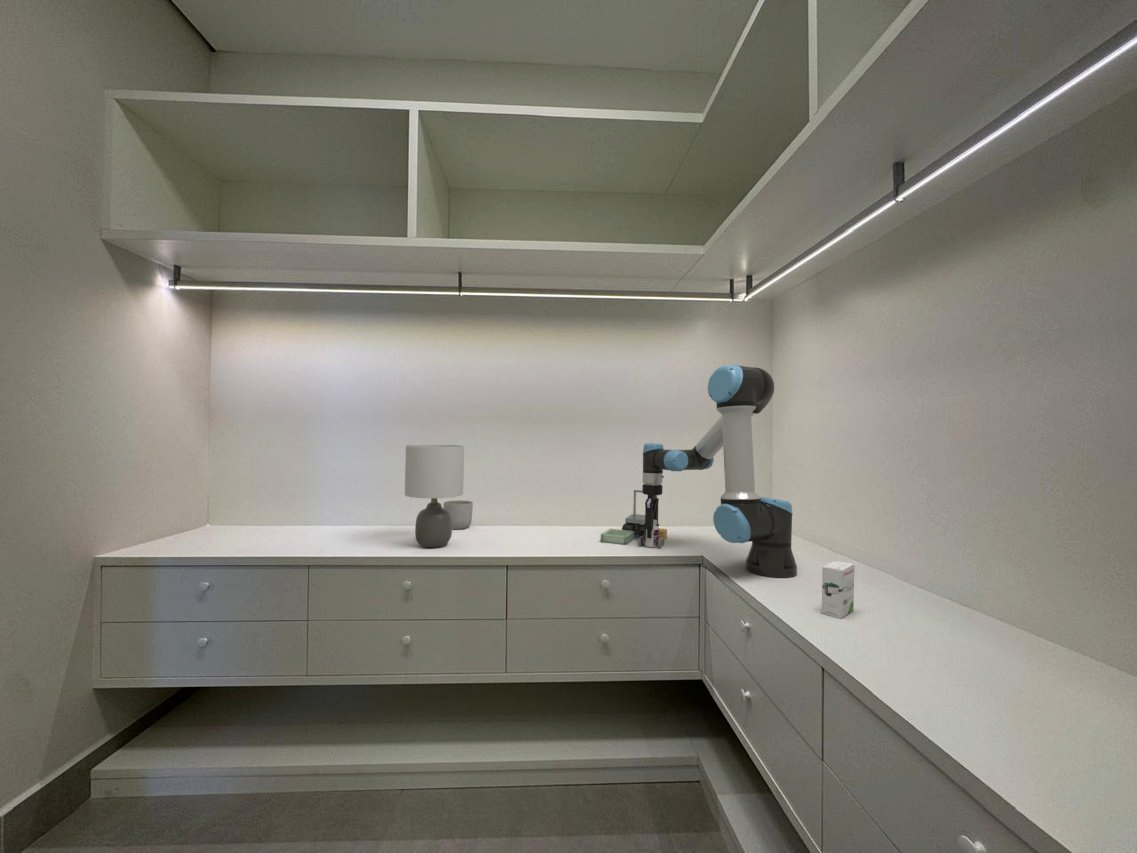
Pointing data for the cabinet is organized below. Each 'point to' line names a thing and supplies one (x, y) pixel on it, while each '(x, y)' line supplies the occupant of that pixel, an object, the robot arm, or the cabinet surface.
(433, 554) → the cabinet surface
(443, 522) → the lamp
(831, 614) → the ink box
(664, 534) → the block
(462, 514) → the planter
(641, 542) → the pin bracket
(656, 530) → the pill bottle
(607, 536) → the tray
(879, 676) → the cabinet surface
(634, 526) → the trolley
